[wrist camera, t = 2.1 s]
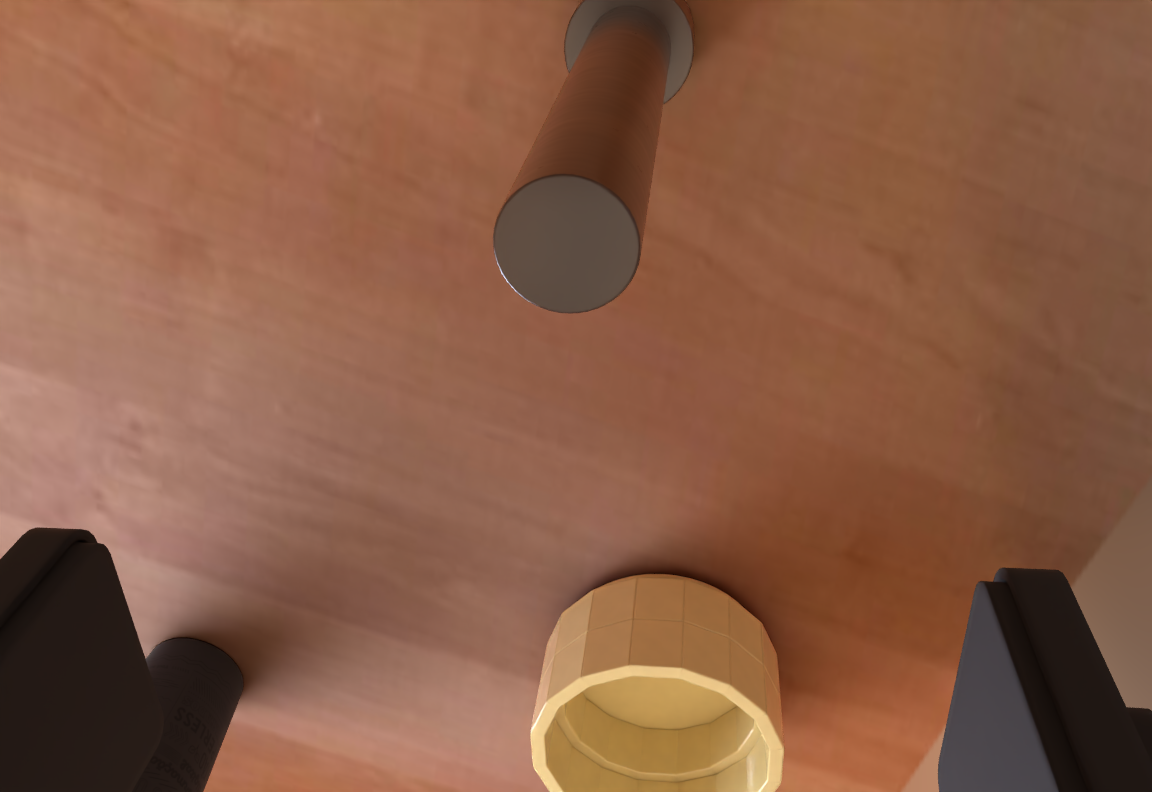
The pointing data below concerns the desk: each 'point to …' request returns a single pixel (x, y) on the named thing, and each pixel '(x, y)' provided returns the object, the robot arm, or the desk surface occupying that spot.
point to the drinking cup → (190, 713)
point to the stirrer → (595, 156)
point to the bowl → (658, 693)
